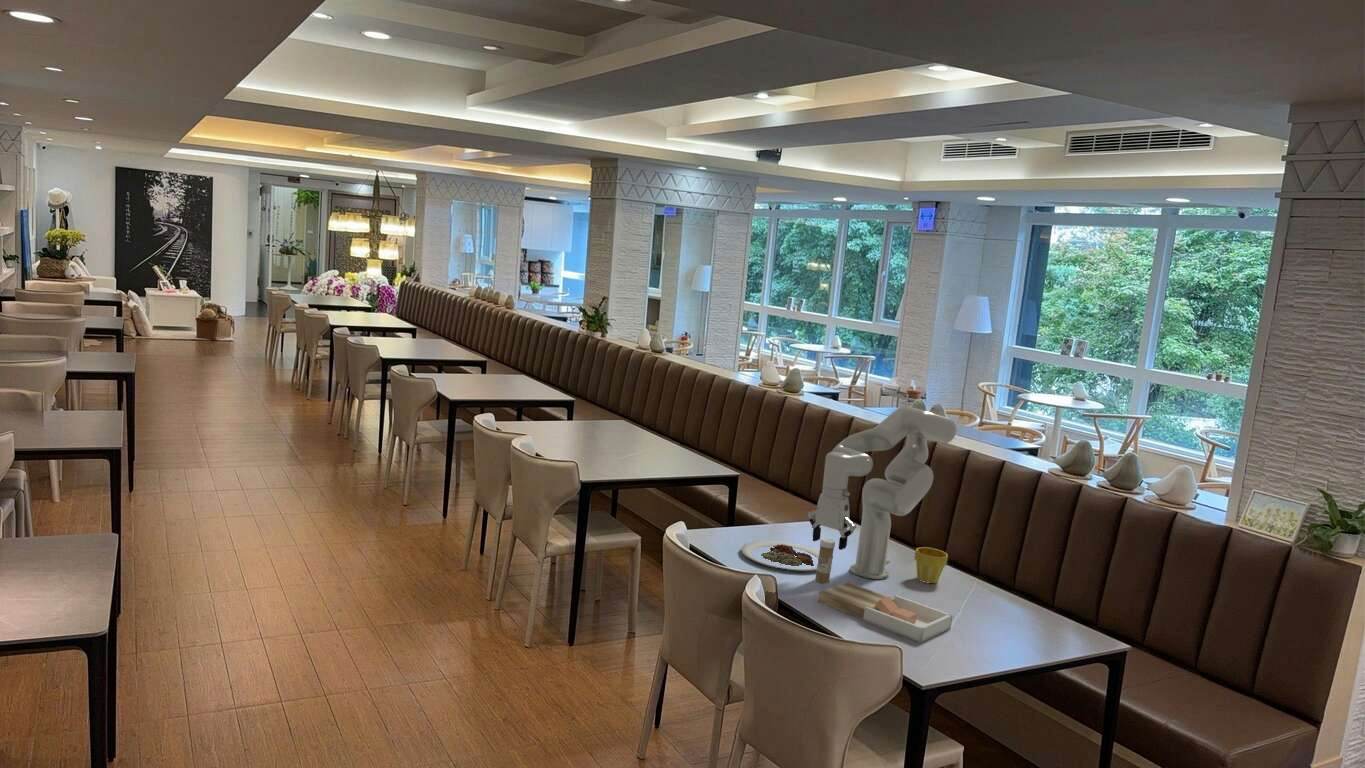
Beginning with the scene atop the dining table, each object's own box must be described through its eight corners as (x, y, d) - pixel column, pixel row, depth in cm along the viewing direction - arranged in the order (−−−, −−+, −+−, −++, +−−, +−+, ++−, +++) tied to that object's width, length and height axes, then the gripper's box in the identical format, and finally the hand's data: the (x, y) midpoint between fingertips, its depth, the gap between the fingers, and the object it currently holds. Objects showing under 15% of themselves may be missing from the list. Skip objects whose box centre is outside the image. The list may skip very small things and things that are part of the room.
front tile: (917, 613, 269) (915, 622, 269) (901, 608, 272) (900, 616, 272) (908, 617, 265) (906, 625, 265) (892, 611, 268) (891, 619, 269)
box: (894, 608, 280) (896, 595, 280) (950, 628, 269) (952, 615, 268) (863, 620, 267) (864, 607, 267) (920, 642, 255) (922, 628, 255)
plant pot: (945, 588, 305) (950, 559, 303) (913, 583, 306) (917, 554, 305) (941, 577, 315) (945, 549, 314) (909, 573, 316) (913, 545, 315)
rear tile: (884, 601, 275) (888, 596, 274) (895, 615, 273) (900, 609, 272) (874, 605, 272) (879, 599, 270) (886, 618, 269) (891, 613, 268)
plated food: (772, 577, 296) (773, 567, 296) (724, 547, 323) (725, 538, 322) (848, 572, 311) (849, 562, 310) (796, 543, 337) (798, 534, 336)
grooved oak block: (847, 591, 290) (848, 582, 290) (893, 608, 280) (894, 599, 279) (817, 601, 278) (819, 592, 278) (864, 619, 268) (866, 609, 267)
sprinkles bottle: (812, 580, 297) (817, 539, 295) (819, 577, 301) (825, 537, 299) (824, 585, 294) (830, 543, 293) (832, 582, 298) (838, 541, 296)
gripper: (864, 496, 291) (859, 549, 294) (818, 483, 302) (813, 535, 305) (851, 500, 285) (846, 554, 288) (804, 487, 297) (799, 539, 300)
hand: (829, 544), depth 297 cm, fingers open, 9 cm apart
